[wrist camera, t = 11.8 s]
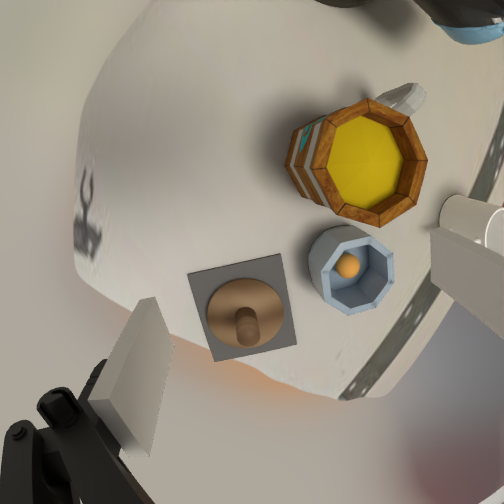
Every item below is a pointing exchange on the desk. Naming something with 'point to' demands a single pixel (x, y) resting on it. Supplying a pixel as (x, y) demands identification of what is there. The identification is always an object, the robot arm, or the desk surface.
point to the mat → (259, 269)
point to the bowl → (364, 282)
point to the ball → (347, 265)
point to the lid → (245, 313)
